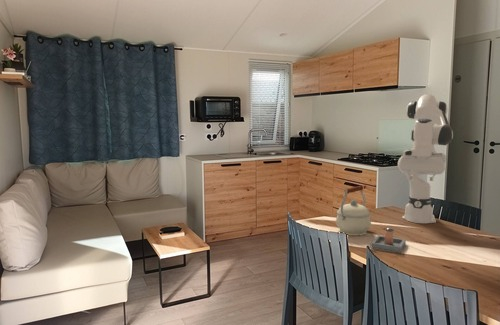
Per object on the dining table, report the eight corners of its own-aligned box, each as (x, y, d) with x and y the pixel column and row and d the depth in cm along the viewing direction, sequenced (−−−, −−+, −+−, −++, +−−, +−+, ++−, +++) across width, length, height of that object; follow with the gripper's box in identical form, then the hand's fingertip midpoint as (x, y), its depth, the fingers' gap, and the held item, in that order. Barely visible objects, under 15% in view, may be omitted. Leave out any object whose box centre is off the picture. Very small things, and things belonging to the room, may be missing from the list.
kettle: (356, 240, 192) (357, 192, 189) (327, 232, 206) (327, 187, 203) (381, 230, 208) (383, 185, 205) (353, 223, 222) (354, 181, 219)
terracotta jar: (385, 242, 186) (385, 226, 185) (393, 244, 184) (394, 228, 183) (383, 245, 183) (384, 229, 182) (392, 246, 181) (392, 230, 180)
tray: (377, 239, 193) (378, 235, 192) (405, 244, 186) (405, 239, 185) (371, 248, 181) (371, 242, 181) (400, 253, 175) (400, 247, 174)
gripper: (446, 152, 183) (445, 180, 184) (401, 150, 193) (400, 177, 195) (445, 153, 177) (443, 182, 179) (399, 151, 188) (398, 179, 190)
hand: (421, 179), depth 187 cm, fingers open, 8 cm apart
